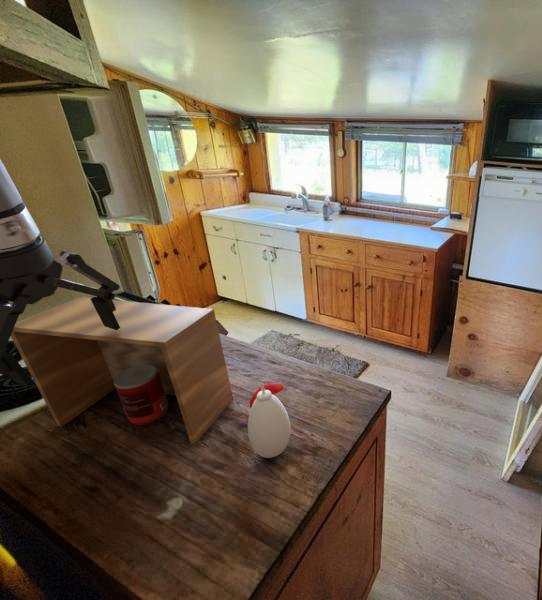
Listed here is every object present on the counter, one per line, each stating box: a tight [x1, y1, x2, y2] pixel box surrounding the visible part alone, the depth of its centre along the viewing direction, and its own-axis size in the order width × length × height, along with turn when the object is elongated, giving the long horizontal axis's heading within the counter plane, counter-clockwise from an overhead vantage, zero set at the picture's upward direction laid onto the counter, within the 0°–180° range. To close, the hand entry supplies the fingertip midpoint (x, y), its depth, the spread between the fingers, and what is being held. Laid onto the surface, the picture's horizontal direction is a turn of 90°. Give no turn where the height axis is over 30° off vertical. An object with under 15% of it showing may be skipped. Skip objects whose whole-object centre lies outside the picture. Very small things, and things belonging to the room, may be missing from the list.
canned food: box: [114, 365, 169, 426], centre depth 73 cm, size 8×8×11 cm
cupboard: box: [10, 296, 234, 445], centre depth 71 cm, size 32×14×25 cm, turn 84°
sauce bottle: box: [247, 382, 291, 459], centre depth 64 cm, size 8×8×18 cm
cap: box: [249, 382, 285, 409], centre depth 77 cm, size 8×6×6 cm
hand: (73, 352), depth 56 cm, fingers open, 13 cm apart
